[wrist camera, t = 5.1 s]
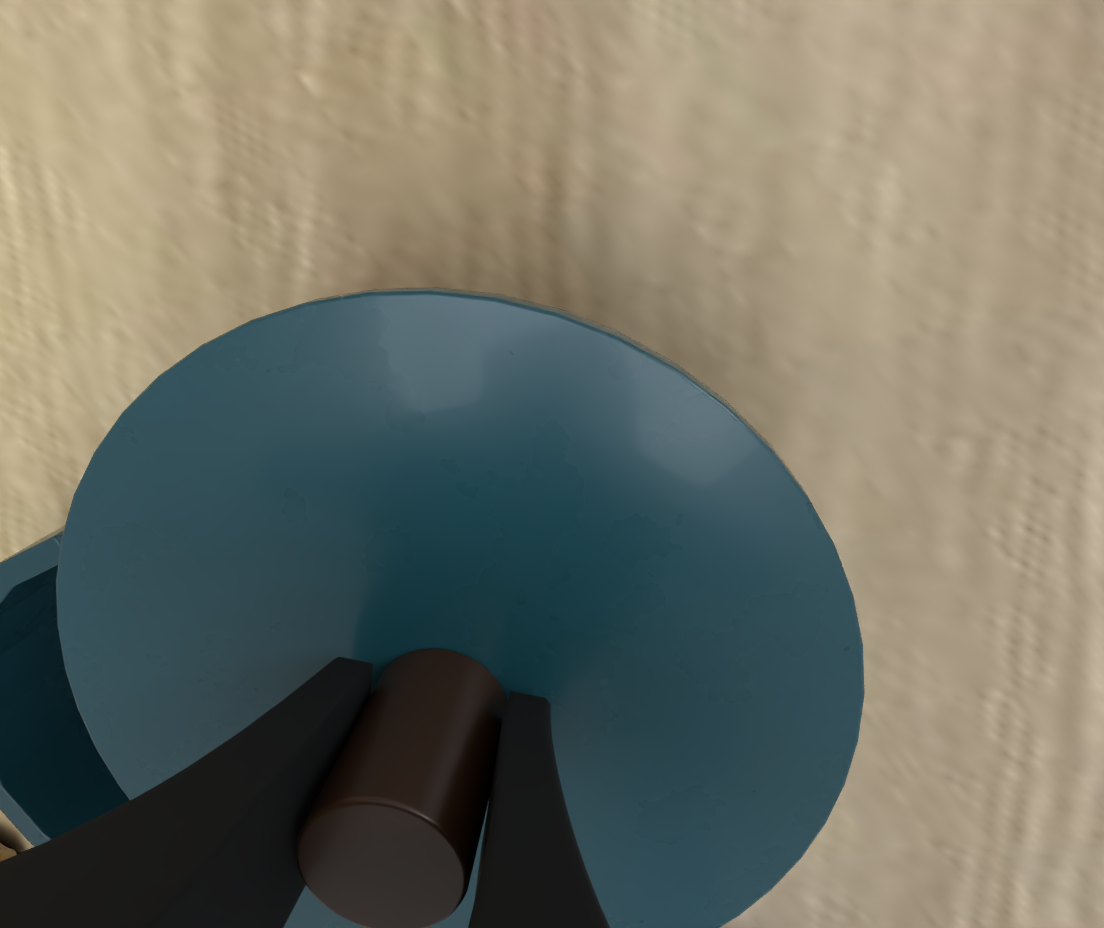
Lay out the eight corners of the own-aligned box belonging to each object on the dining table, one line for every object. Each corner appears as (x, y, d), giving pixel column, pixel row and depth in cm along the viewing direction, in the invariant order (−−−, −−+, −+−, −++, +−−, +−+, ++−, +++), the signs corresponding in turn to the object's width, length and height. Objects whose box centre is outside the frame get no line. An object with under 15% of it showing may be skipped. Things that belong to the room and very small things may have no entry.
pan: (486, 500, 22) (443, 591, 17) (439, 821, 27) (394, 967, 22) (72, 419, 23) (-90, 483, 18) (98, 748, 28) (-24, 875, 22)
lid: (969, 370, 11) (1178, 477, 7) (734, 992, 16) (771, 1271, 12) (67, 210, 12) (-256, 217, 7) (118, 860, 17) (-54, 1083, 12)
